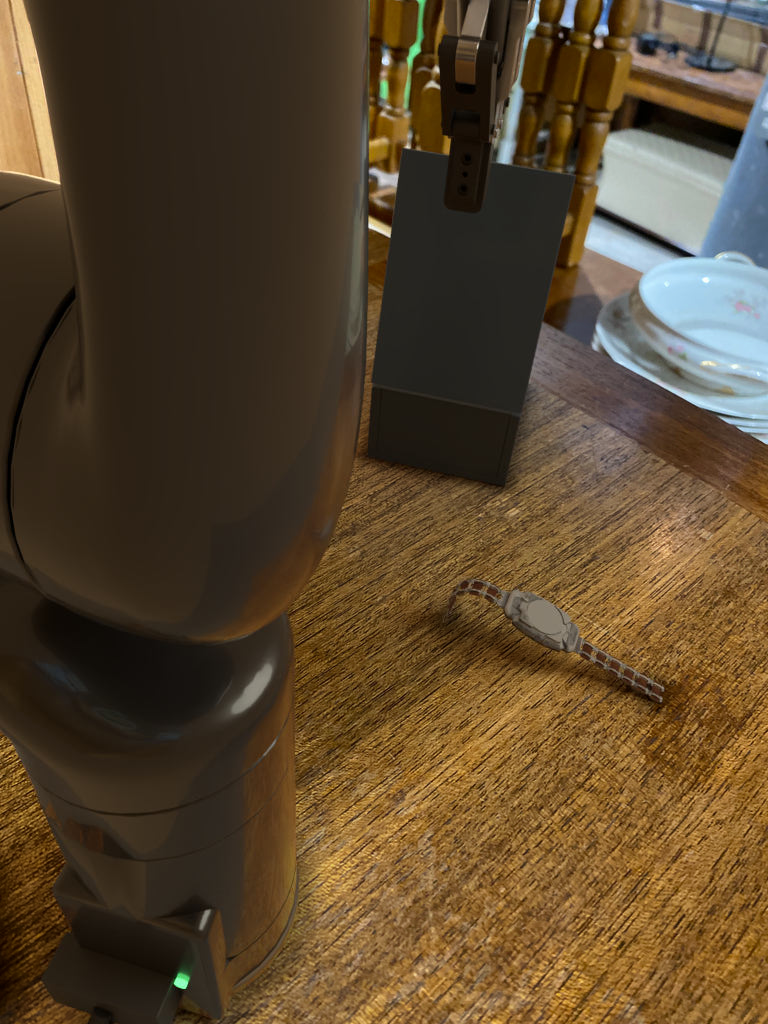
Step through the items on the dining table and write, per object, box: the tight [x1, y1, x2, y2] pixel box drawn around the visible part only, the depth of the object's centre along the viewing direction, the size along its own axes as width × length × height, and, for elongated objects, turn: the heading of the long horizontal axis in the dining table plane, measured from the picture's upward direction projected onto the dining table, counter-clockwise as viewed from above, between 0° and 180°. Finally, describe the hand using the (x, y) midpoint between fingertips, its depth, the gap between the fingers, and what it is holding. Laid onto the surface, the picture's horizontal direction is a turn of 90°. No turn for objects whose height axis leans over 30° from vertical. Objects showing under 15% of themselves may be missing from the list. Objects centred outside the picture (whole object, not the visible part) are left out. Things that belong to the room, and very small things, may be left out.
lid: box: [370, 147, 577, 415], centre depth 55 cm, size 16×12×1 cm
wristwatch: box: [442, 578, 665, 704], centre depth 50 cm, size 4×14×5 cm, turn 67°
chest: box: [366, 325, 543, 487], centre depth 67 cm, size 16×12×7 cm
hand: (463, 206), depth 44 cm, fingers closed
